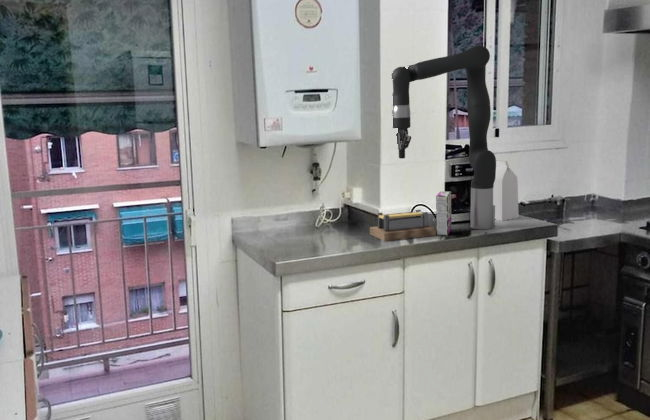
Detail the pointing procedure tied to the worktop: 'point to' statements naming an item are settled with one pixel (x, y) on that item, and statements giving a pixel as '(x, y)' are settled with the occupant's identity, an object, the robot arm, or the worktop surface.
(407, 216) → the strip
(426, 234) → the walnut board
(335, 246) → the worktop surface
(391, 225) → the block
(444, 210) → the candy bar box
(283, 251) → the worktop surface
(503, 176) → the milk
